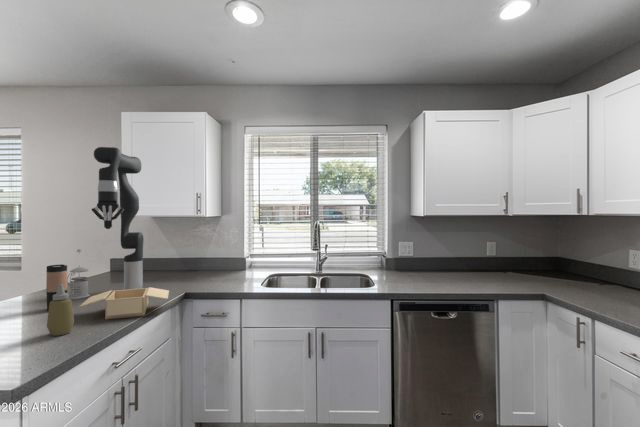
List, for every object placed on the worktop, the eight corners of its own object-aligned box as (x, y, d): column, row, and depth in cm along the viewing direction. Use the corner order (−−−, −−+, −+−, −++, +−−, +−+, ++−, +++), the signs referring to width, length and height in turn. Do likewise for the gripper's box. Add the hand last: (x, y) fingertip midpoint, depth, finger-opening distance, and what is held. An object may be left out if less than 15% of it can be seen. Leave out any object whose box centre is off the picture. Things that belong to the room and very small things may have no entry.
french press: (78, 299, 174) (78, 250, 174) (59, 298, 176) (59, 250, 176) (94, 294, 184) (94, 248, 184) (76, 293, 186) (76, 248, 186)
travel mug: (42, 312, 151) (42, 267, 151) (51, 307, 159) (51, 264, 159) (62, 310, 153) (62, 266, 153) (70, 306, 161) (70, 264, 161)
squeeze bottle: (79, 329, 129) (79, 282, 129) (64, 337, 121) (63, 286, 121) (57, 329, 128) (57, 282, 128) (40, 337, 120) (40, 287, 120)
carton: (114, 306, 160) (114, 289, 160) (148, 303, 166) (148, 287, 166) (104, 321, 139) (104, 301, 139) (143, 317, 144) (143, 298, 144)
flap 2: (149, 287, 163) (169, 290, 166) (149, 288, 163) (168, 291, 166) (145, 295, 147) (167, 298, 150) (145, 295, 147) (167, 299, 150)
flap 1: (112, 290, 157) (90, 297, 154) (111, 290, 157) (89, 296, 154) (104, 299, 141) (79, 307, 138) (104, 298, 141) (79, 306, 138)
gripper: (125, 191, 161) (125, 228, 161) (92, 191, 156) (93, 228, 156) (123, 190, 154) (123, 228, 154) (88, 190, 149) (88, 229, 149)
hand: (108, 228), depth 155 cm, fingers closed
